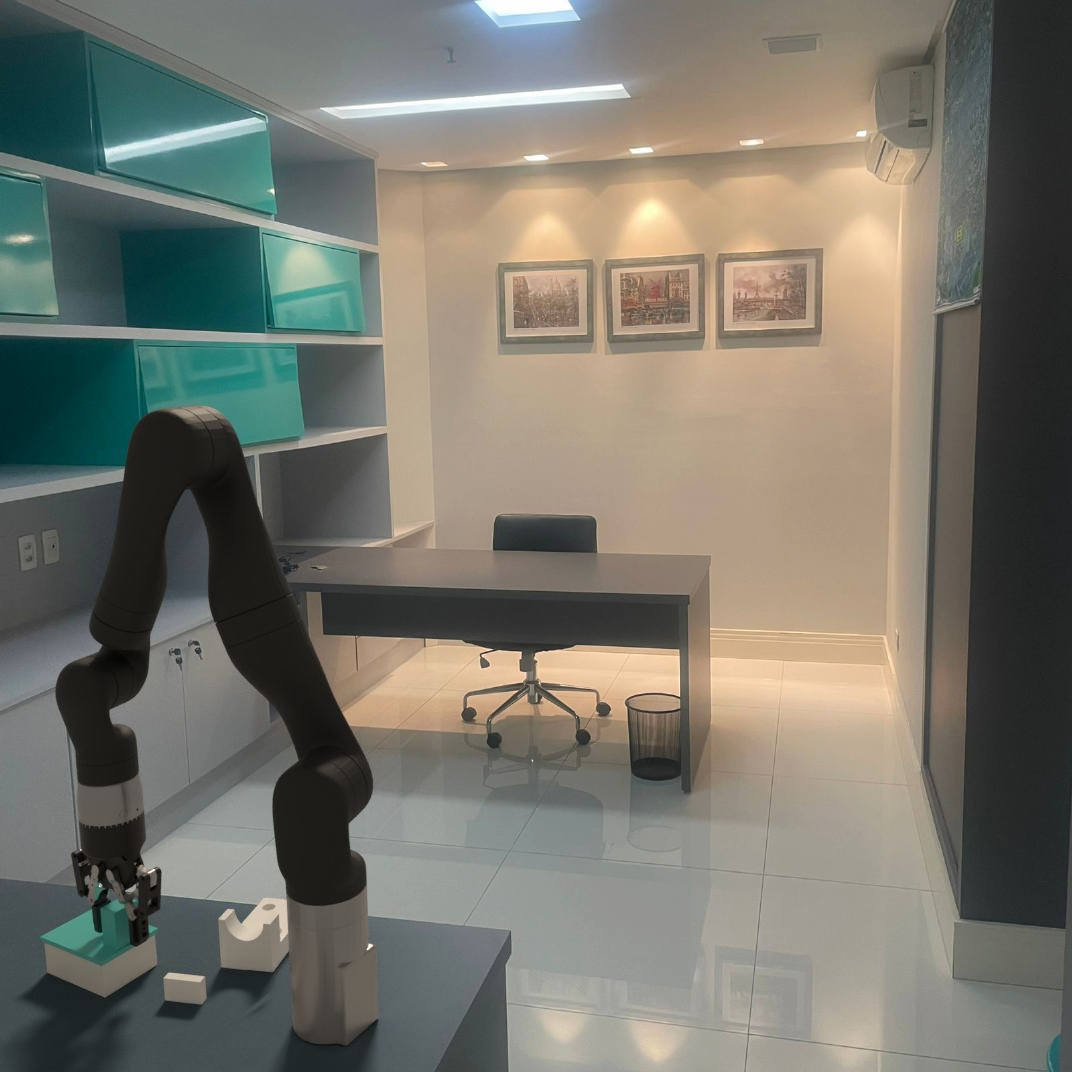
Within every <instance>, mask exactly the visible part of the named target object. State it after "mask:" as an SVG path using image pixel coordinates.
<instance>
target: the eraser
mask: <svg viewBox="0 0 1072 1072" xmlns="http://www.w3.org/2000/svg"><path fill="white" fill-rule="evenodd" d="M206 986H207V985H206V976H204V975H195V974H186V973H177V972H167V974H166V975H165V976H164V977H163V988H164V1001H168V1002H177V1003H184V1004H192V1005H193V1004H195V1005H203V1004H204V1002H205V1001H206V1000H207V987H206Z"/></svg>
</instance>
